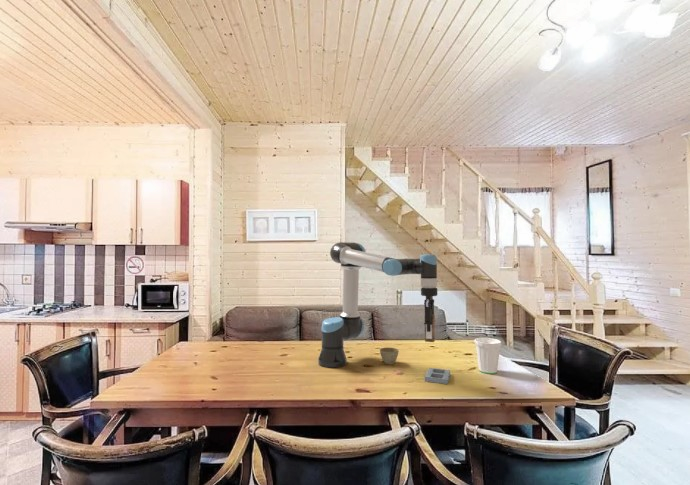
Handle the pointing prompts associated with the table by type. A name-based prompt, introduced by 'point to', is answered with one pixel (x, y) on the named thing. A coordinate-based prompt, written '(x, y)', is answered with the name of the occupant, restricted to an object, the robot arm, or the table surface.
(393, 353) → the flower pot
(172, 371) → the table surface
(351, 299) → the robot arm
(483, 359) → the cup
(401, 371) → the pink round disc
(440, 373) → the grey window frame
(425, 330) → the peg
